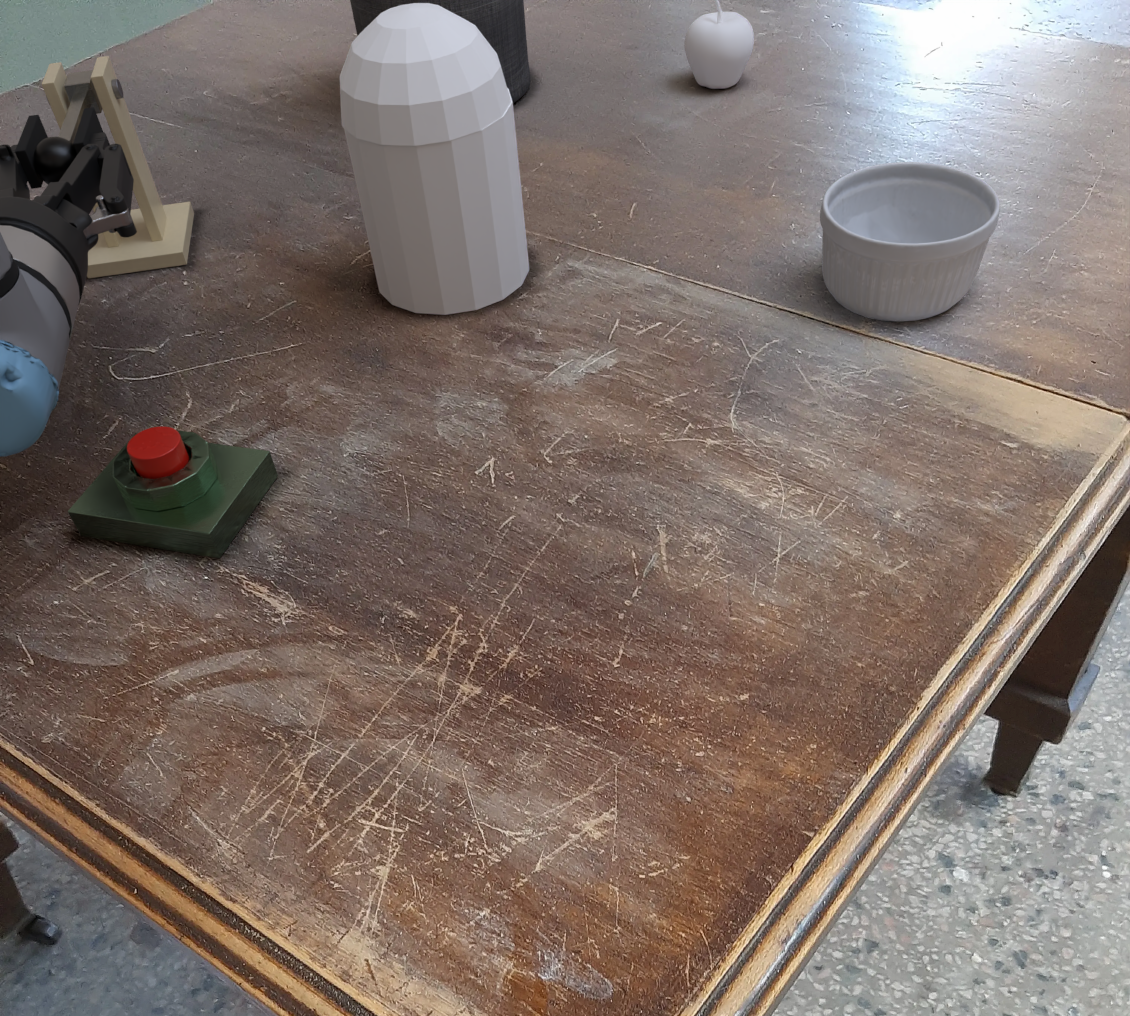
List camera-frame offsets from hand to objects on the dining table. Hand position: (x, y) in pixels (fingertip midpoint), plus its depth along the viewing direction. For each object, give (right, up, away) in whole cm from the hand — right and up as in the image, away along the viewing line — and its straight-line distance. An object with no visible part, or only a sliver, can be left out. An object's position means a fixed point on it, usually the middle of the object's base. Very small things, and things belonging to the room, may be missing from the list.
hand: (68, 129), depth 85 cm
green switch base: (+12, -32, -9) cm, 35 cm away
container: (+29, -8, +9) cm, 32 cm away
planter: (+27, +23, +33) cm, 48 cm away
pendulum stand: (0, -2, +16) cm, 16 cm away
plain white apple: (+55, +22, +29) cm, 66 cm away
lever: (0, 0, +2) cm, 2 cm away
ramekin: (+66, -12, +2) cm, 67 cm away
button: (+12, -30, -12) cm, 34 cm away
